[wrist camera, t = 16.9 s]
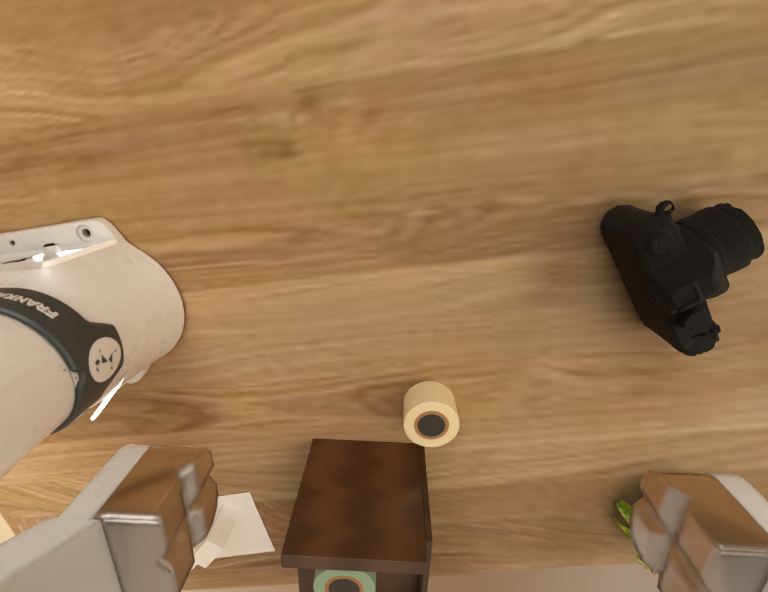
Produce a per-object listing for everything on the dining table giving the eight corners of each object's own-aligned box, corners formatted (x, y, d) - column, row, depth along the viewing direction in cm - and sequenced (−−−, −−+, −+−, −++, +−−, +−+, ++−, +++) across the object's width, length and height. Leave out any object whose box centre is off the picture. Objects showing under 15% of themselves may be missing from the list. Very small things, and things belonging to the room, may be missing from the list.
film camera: (733, 292, 42) (817, 331, 33) (639, 335, 44) (696, 382, 36) (689, 157, 37) (774, 164, 29) (587, 212, 39) (638, 234, 31)
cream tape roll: (401, 422, 49) (402, 446, 45) (404, 379, 47) (404, 401, 43) (452, 424, 49) (456, 449, 45) (457, 381, 47) (462, 403, 43)
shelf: (317, 553, 58) (291, 687, 44) (313, 438, 50) (280, 555, 36) (414, 558, 57) (419, 694, 44) (424, 443, 50) (434, 563, 36)
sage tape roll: (320, 567, 44) (313, 608, 40) (319, 527, 42) (311, 566, 38) (376, 570, 44) (374, 611, 40) (378, 530, 42) (376, 570, 38)
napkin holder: (178, 563, 59) (156, 606, 54) (144, 506, 55) (117, 546, 50) (276, 550, 58) (263, 593, 52) (248, 490, 54) (232, 530, 48)
